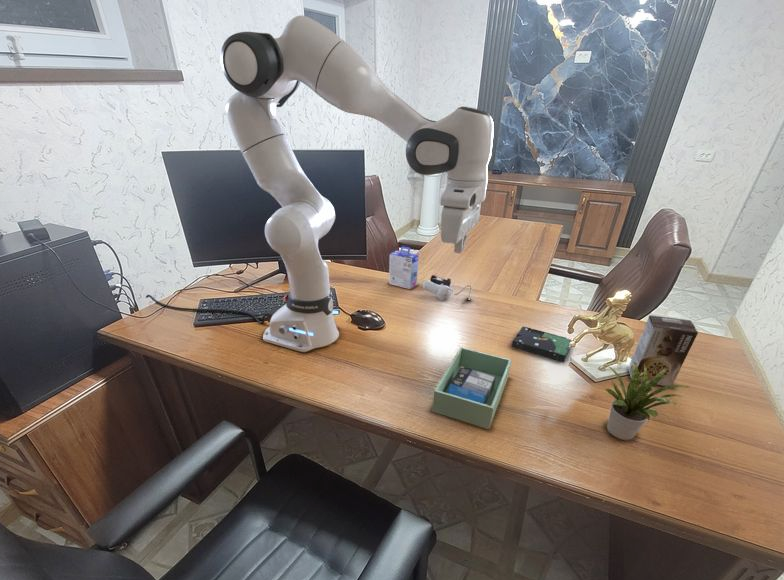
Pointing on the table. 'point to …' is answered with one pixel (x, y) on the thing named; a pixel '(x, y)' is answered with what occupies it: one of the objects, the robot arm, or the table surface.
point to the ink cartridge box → (403, 268)
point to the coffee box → (663, 348)
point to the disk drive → (542, 344)
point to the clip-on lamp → (441, 287)
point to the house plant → (635, 403)
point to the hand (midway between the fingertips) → (459, 251)
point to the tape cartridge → (472, 385)
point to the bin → (465, 407)
